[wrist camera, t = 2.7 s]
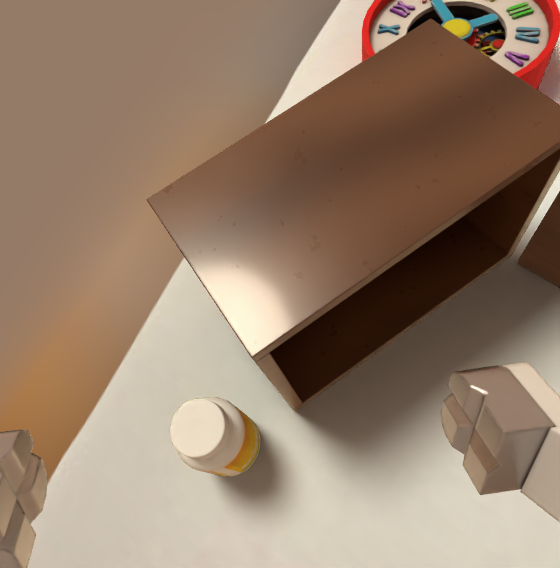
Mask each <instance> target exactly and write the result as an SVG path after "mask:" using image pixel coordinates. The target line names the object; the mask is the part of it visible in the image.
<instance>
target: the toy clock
mask: <svg viewBox="0 0 560 568" xmlns="http://www.w3.org/2000/svg"><path fill="white" fill-rule="evenodd" d="M429 19H432V20H434V21H435V22H437V23H438V24H440V25H441V26H443V27H444V28H446V29H447V30H449V31H450V32H452V33H453V34H455V35H456V36H458V37H459V38H461V39H462V40H464V41H465V42H467V43H468V44H470V45H471V46H472V47H474V48H475V49H477V50H478V51H480V52H481V53H483V54H484V55H486V56H487V57H489V58H490V59H492V60H493V61H495V62H496V63H498V64H499V65H501V66H502V67H504V68H505V69H507V70H508V71H510V72H511V73H513V74H514V75H516V76H517V77H519V78H520V79H522V80H523V81H525V82H526V83H528V84H529V85H531V86H532V87H534V88H535V89H538V87H539V85H540V83H541V80H542V78H543V75H544V72H545V70H546V67H547V65H548V62H549V60H550V57H551V55H552V52H553V50H554V47H555V45H556V42H557V40H558V37H559V32H560V12H559V9H558V7H557V4H556V2H555V0H375V1H374V2H373V4H372V5H371V6H370V8H369V9H368V11H367V14H366V16H365V18H364V21H363V28H362V62H363V61H365V60H366V59H368V58H369V57H371V56H373V55H374V54H376V53H377V52H379V51H380V50H382V49H384V48H385V47H387V46H388V45H390V44H391V43H393V42H395V41H396V40H398V39H399V38H401V37H402V36H404V35H406V34H407V33H409V32H410V31H412V30H413V29H415V28H417V27H418V26H420V25H421V24H423V23H424V22H426V21H428V20H429Z"/></svg>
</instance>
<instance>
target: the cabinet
mask: <svg viewBox="0 0 560 568" xmlns="http://www.w3.org/2000/svg"><path fill="white" fill-rule="evenodd" d="M559 171H560V105H559V104H558V103H556V102H555V101H553V100H552V99H550V98H549V97H547V96H546V95H544V94H543V93H541V92H540V91H538V90H537V89H535V88H534V87H532V86H531V85H529V84H528V83H526V82H525V81H523V80H522V79H520V78H519V77H517V76H516V75H514V74H513V73H511V72H510V71H508V70H507V69H505V68H504V67H502V66H501V65H499V64H498V63H496V62H495V61H493V60H492V59H490V58H489V57H487V56H486V55H484V54H483V53H481V52H480V51H478V50H477V49H475V48H474V47H472V46H471V45H470V44H468V43H467V42H465V41H464V40H462V39H461V38H459V37H458V36H456V35H455V34H453V33H452V32H450V31H449V30H447V29H446V28H444V27H443V26H441V25H440V24H438V23H437V22H435V21H434V20H432V19H429V20H428V21H426V22H424V23H423V24H421V25H420V26H418V27H417V28H415V29H413V30H412V31H410V32H409V33H407V34H406V35H404V36H402V37H401V38H399V39H398V40H396V41H395V42H393V43H391V44H390V45H388V46H387V47H385V48H384V49H382V50H380V51H379V52H377V53H376V54H374V55H373V56H371V57H369V58H368V59H366V60H365V61H363V62H362V63H360V64H358V65H357V66H355V67H354V68H352V69H351V70H349V71H347V72H346V73H344V74H343V75H341V76H340V77H338V78H336V79H335V80H333V81H332V82H330V83H329V84H327V85H325V86H324V87H322V88H321V89H319V90H318V91H316V92H314V93H313V94H311V95H310V96H308V97H307V98H305V99H303V100H302V101H300V102H299V103H297V104H296V105H294V106H292V107H291V108H289V109H288V110H286V111H285V112H283V113H281V114H280V115H278V116H277V117H275V118H274V119H272V120H270V121H269V122H267V123H266V124H264V125H263V126H261V127H259V128H258V129H256V130H255V131H253V132H252V133H250V134H249V135H247V136H245V137H244V138H242V139H241V140H239V141H238V142H236V143H234V144H233V145H231V146H230V147H228V148H226V149H225V150H223V151H222V152H220V153H219V154H217V155H216V156H214V157H212V158H211V159H209V160H208V161H206V162H204V163H203V164H202V165H200V166H198V167H197V168H195V169H193V170H192V171H191V172H189V173H187V174H186V175H184V176H182V177H181V178H179V179H178V180H176V181H175V182H173V183H171V184H170V185H168V186H167V187H165V188H164V189H162V190H161V191H159V192H157V193H156V194H154V195H153V196H151V197H150V198H148V199H147V201H148V203H149V204H150V206H151V207H152V209H153V210H154V212H155V213H156V215H157V216H158V218H159V219H160V221H161V222H162V224H163V225H164V227H165V228H166V230H167V231H168V233H169V234H170V236H171V237H172V239H173V240H174V242H175V243H176V245H177V246H178V248H179V249H180V251H181V252H182V254H183V255H184V257H185V258H186V260H187V261H188V263H189V264H190V266H191V267H192V269H193V270H194V272H195V273H196V275H197V276H198V278H199V279H200V281H201V282H202V284H203V285H204V287H205V288H206V290H207V291H208V293H209V294H210V296H211V297H212V299H213V300H214V302H215V303H216V305H217V306H218V308H219V309H220V311H221V312H222V314H223V315H224V317H225V318H226V320H227V321H228V323H229V324H230V326H231V327H232V329H233V330H234V332H235V333H236V335H237V336H238V338H239V339H240V341H241V342H242V344H243V345H244V347H245V348H246V350H247V351H248V353H249V354H250V356H251V357H252V359H253V360H254V361H255V362H256V364H257V365H258V366H259V368H260V369H261V370H262V371H263V373H264V374H265V375H266V376H267V378H268V379H269V380H270V381H271V383H272V384H273V385H274V386H275V388H276V389H277V390H278V391H279V393H280V394H281V395H282V397H283V398H284V399H285V400H286V402H287V403H288V404H289V405H290V407H291V408H292V409H293V410H294V411H295V412H296V411H297V410H298V409H300V408H301V407H303V406H304V405H305V404H307V403H308V402H309V401H311V400H312V399H314V398H315V397H316V396H318V395H319V394H320V393H322V392H323V391H325V390H326V389H327V388H329V387H330V386H332V385H333V384H334V383H336V382H337V381H338V380H340V379H341V378H343V377H344V376H345V375H347V374H348V373H349V372H351V371H352V370H354V369H355V368H356V367H358V366H359V365H360V364H362V363H363V362H365V361H366V360H367V359H369V358H370V357H372V356H373V355H374V354H376V353H377V352H378V351H380V350H381V349H383V348H384V347H385V346H387V345H388V344H389V343H391V342H392V341H394V340H395V339H396V338H398V337H399V336H401V335H402V334H403V333H405V332H406V331H407V330H409V329H410V328H412V327H413V326H414V325H416V324H417V323H418V322H420V321H421V320H423V319H424V318H425V317H427V316H428V315H429V314H431V313H432V312H434V311H435V310H436V309H438V308H439V307H441V306H442V305H443V304H445V303H446V302H447V301H449V300H450V299H452V298H453V297H454V296H456V295H457V294H458V293H460V292H461V291H463V290H464V289H465V288H467V287H468V286H470V285H471V284H472V283H474V282H475V281H476V280H478V279H479V278H481V277H482V276H483V275H485V274H486V273H487V272H489V271H490V270H492V269H493V268H494V267H496V266H497V265H498V264H500V263H501V262H503V261H504V260H505V259H507V258H508V257H510V256H511V255H512V254H513V252H514V250H515V249H516V247H517V245H518V243H519V242H520V240H521V238H522V236H523V234H524V233H525V231H526V229H527V227H528V226H529V224H530V222H531V220H532V219H533V217H534V215H535V213H536V212H537V210H538V208H539V206H540V204H541V203H542V201H543V199H544V197H545V196H546V194H547V192H548V190H549V189H550V187H551V185H552V183H553V181H554V180H555V178H556V176H557V174H558V173H559Z"/></svg>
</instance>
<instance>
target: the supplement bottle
mask: <svg viewBox="0 0 560 568" xmlns="http://www.w3.org/2000/svg"><path fill="white" fill-rule="evenodd" d="M170 436H171V440H172V443H173V445H174V446H175V448H176V449H177V452H178V454H179V456H180V457H181V459H182V460H183V461H184V462H185V463H186V464H187V465H189V466H190V467H192V468H193V469H196V470H199V471H203V472H207V473H212V474H216V475H220V476H235V475H239V474H241V473H243V472H244V471H246V470H247V469H248V468H250V466H251V465H252V464H253V463H254V461H255V460H256V458H257V456H258V453H259V450H260V434H259V430H258V428H257V426H256V424H255V423H254V422H253V421H252V420H251V419H250V418H249V417H248V416H247V415H245V414H244V413H243V412H242V411H240V410H239V409H238V408H237V407H235V406H234V405H233V404H231V403H230V402H229V401H227V400H224V399H221V398H217V397H207V398H203V399H202V398H198V399H193V400H190V401H188V402H186V403H184V404H183V405H182V406H181V407H180V408H179V409H178V410H177V411H176V413H175V414H174V416H173V418H172V421H171V426H170Z"/></svg>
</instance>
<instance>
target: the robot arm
mask: <svg viewBox="0 0 560 568" xmlns="http://www.w3.org/2000/svg"><path fill="white" fill-rule="evenodd" d="M448 387H449V388H450V390H451V391H452V393H451V394H450V395H449V396H448V397H447V398H446V399H445V400H444V401H443V406H442V410H441V417H442V425H443V428H444V431H445V434H446V436H447V438H448V440H449V442H450V444H451V445H452V447H454V448H455V449H457V450H458V451H460V452H461V453H463V454H464V461H463V466H464V468H465V470H466V472H467V473H468V475H469V477H470V478H471V480H472V482H473V484H474V485H475V487H476V489H477V491H478V492H479V494H480V495H484V494H491V493H498V492H505V491H511V490H518V489H521V492H522V493H523V494H524V495H526V496H527V497H528V498H529V499H531V500H532V501H533V502H534V503H536V504H537V505H538V506H540V507H541V508H542V509H543V510H545V511H546V512H547V513H548V514H550V515H551V516H552V517H554V518H555V519H556V520H557V521H559V522H560V397H559V396H558V394H557V393H556V392H555V391H554V390H553V389H552V388H551V387H550V386H549V384H548V383H547V382H546V381H545V380H544V379H543V378H542V377H541V376H540V374H539V373H538V372H537V371H536V370H535V369H534V368H533V367H532V366H531V365H529V364H527V363H526V362H521V363H514V364H506V365H501V366H491V367H484V368H477V369H470V370H463V371H456V372H454V373H453V374H452V375H451V376H450V380H449V383H448ZM33 444H34V441H33V439H32V437H31V436H30V433H29V431H28V430H15V431H6V432H0V568H27V567H28V564H29V560H30V556H31V552H32V549H33V545H34V541H35V537H36V534H35V532H34V530H33V528H32V526H31V522H32V521H33V520H34V519H35V518H36V517H37V516H38V515H39V514H40V513H41V512H42V510H43V506H44V502H45V498H46V489H47V476H46V470H45V466H44V463H43V461H42V459H41V458H40V457H39V456H37V455H35V454H33V453H31V450H32V447H33Z"/></svg>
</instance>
